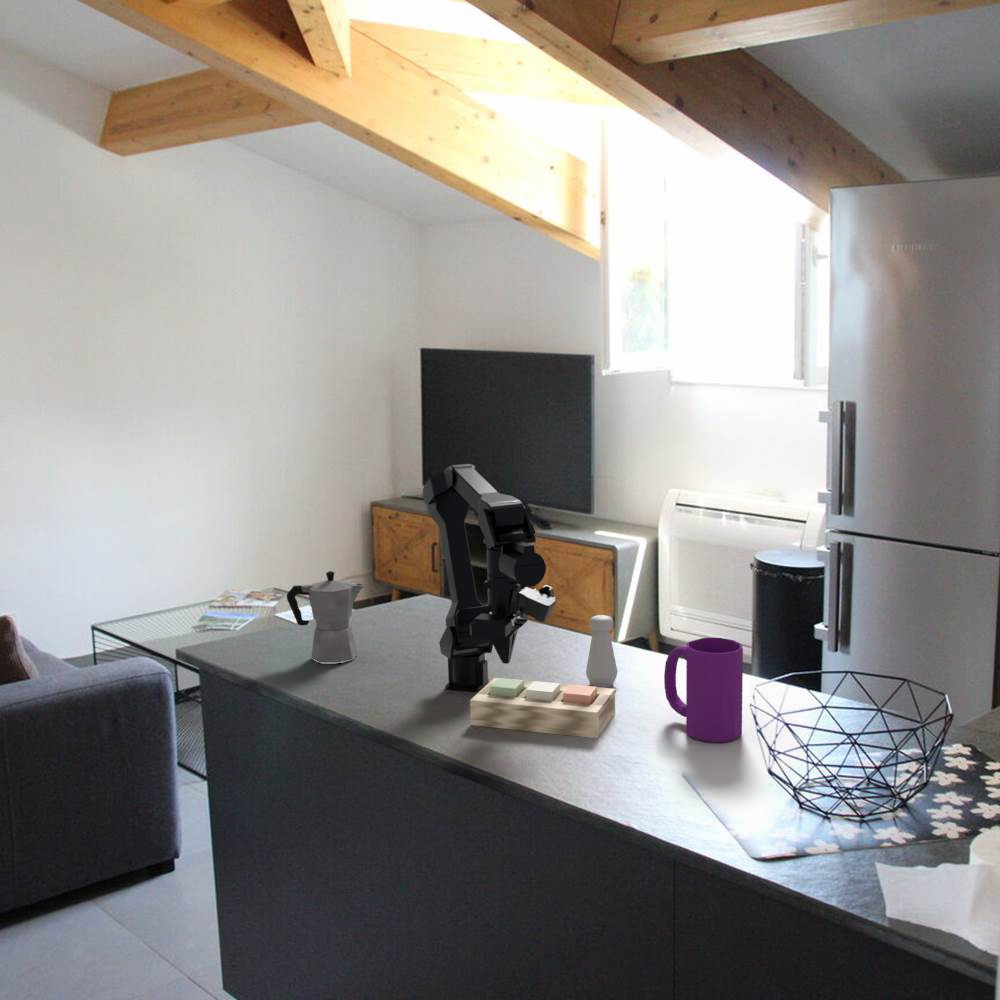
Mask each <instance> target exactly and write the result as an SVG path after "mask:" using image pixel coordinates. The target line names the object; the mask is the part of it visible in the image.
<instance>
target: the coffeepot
mask: <svg viewBox="0 0 1000 1000" xmlns="http://www.w3.org/2000/svg"><path fill="white" fill-rule="evenodd" d="M325 574H326V577H327V580H322V581H318V582H314V583H312V584H302V585H299V584H297V585H293V586H292V587H291V588H290V589H289V591H288V592H287V594H286V600H287V602H288V604H289V607H290V609H291V611H292V613H293V615H294V616H293V617H294V619H295V621H296V624H297V625H298V626H308V624H309V622H310V621H309V620H305V619H303V618H302V612H301V611H302V610H301V609H300V608H299V604H298V601H297V598H296V597H297V596H298V595H302V596H308V598H309V603H310V607H311V612H312V617H313V619H314V620H315V628H314V631H313V632H314V633H313V640H312V650H311V656H310V657H311V658H313V659H315V660H317V661H319V662H341V661H345V660H346V661H347V660H351V659H353V658H354V657H355V656H356V655H357V656H358V651H357V646H356V642H355V638H354V634H353V628H352V626H351V625H350V624H351V623H350V618H351V617H353V616H352V615H353V606H354V603H355V601H356V599H357V598H358V595H359V593H360V592H361V591H362V589H364V588H365V586H364V584H362V583H358V582H350V581H347V580H339V579H337V580H336V579H334V578H335V571H330V570H329V571H326V573H325ZM357 656H356V657H357Z"/></svg>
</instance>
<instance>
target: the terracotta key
mask: <svg viewBox="0 0 1000 1000" xmlns="http://www.w3.org/2000/svg"><path fill="white" fill-rule="evenodd" d="M569 685H570V686H569V687H568V688H567V689H566V690H565V692H564V693H563V702H568V703H579V704H589V705H592V704H593V702H594V701H595V700H596V699H597V687H594V686H592V685H580V684H569Z"/></svg>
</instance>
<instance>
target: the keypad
mask: <svg viewBox="0 0 1000 1000" xmlns="http://www.w3.org/2000/svg"><path fill="white" fill-rule="evenodd" d="M498 678H499V677H493V679H491V680H490V681H488V682H487V683H486V684H485V685H484V686H483V687H482V688H481V689H480V690H479V691H477V693H476V694H475V695H474V696H473V697H472V698H471V699H469V706H470V707H469V708H470V726H476V727H477V726H478V727H486V728H494V729H495V728H496V729H505V730H514V731H515V730H516V731H522V732H525V731H526V732H535V733H543V734H553V735H554V734H555V735H561V736H562V735H563V736H571V737H582V738H591V739H598V738H599V737H600V736H601V734H602V733H603V731H604V730H605V729H606V728H607V725H608V724H609V723H610V722H611V720H612V719H613V717H615V714H616V688H612V687H608V688H600V687H597V699H596V700H595V701H594V702H593V704H592V705H589V704H579V703H568V702H563V693H564V692H565V690H566V689H567V688H568V687H569V686H570V685H571V684H565V683H560V695H559V696H558V697H557V698H556V699H555V700H554V701H548V700H537V699H527V698H526V689H527V688H528V687H529V686H530V685H531V684H532V683H533V682H534V681H535V680H534V681H532V680H524V691H523V692H522V693H521V694H520V695H519V696H518V697H517V698H516V697H506V696H495V695H490V686H491V685H492V684H493V683H494V682H495V681H496V680H497V679H498Z"/></svg>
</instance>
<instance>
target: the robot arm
mask: <svg viewBox="0 0 1000 1000" xmlns="http://www.w3.org/2000/svg"><path fill="white" fill-rule="evenodd" d="M422 498H423V502H424V504H426V507H427V514H428V516H430V518H431V519H432V521H434V522H435V523H436V525H437V526H438V527H439V533H440V539H441V545H442V550H443V557H444V564H445V569H446V576H447V581H448V587H449V594H450V601H451V604H450V607H449V610H448V612H447V615H446V617H445V626H446V627H445V629H444V631H443V633H442V636H441V638H440V640H439V642H438V643H439V648H440V654H441V655H443V656H445V657H446V658H447V671H448V672H447V673H448V675H447V677H448V683H446V684H445V685H444V688H445V689H449V690H458V691H470V692H479V691H480V690H482V689H483V688H484V687H485V686H486V685H487V684H488V683H489V682H490V681H489V680H490V679H489V669H488V668H489V667H488V660H487V659H486V654H492V652H493V647H494V649H495V651H496V653H497V654H498V657H499V659H500V661H501V663H502V664H509V663H510V662H511V658H512V654H513V651H514V646H515V643H516V639H517V635H518V631H519V630H520V629H521V628H522V627H523V626H524V625H525V624H526V623H527V622H528V621H529V620H528V619H527V618H521V615H520V613H522V614H524V615H526V616H529V617H531V618H533V619H534V620H535V621H536V622H537V621H538V622H541V623H544V622H546V620H547V619H548V618H550V617H551V615H552V612H553V609H554V608H555V607H554V606H556V604H557V601H556V599H557V597H556V596H555V594H554V588H553V586H550V585H547V584H545V585H543V586H542V587H541V588H540V589H538V588H533V587H534V586H537V585H538V584H540V582H542V580H543V579H544V578H545V576H546V571H547V564H546V563H545V560H544V558H543V557H542V555H541V554H539V553H538V552H536V551H535V545H534V544H532V543H536V542H537V540H536V536H535V534H536V530H535V528H534V525H533V522H532V520H531V518H530V516H529V513H528V509H527V508H526V506H525V505H524V503H523V502H522V501H521V500H520V499H518V498H516V497H514V496H513V495H509V494H503V493H500V492H498V491H497V489H495V487H493V486H492V485H491V484H490V483H489V482H488V481H487V480H486V479H485V478H484V477H483V476H482V475H481V474H480V473H479V472H478V471H477V468H476V466H475V465H474V464H470V463H463V464H461V463H460V464H452V465H450V466H447V467H445V469H444V470H443V471H442V472H439V473H438V474H436V475H434V476H433V477H431V478H429V479H428V481H426V483H425V485H424V486H423V488H422ZM471 508H473V510H474V511H475V512H476V513H477V524H478V526H479V527H480V530H481V532H482V534H483V537H484V539H483V540H482V541H483V544H485V545H486V566H487V568H486V574H487V579H486V580H485V581H483V589H487V603H486V604H485V605H483V604H482V603H481V601H480V600H479V599H478V596H477V590H476V582H475V578H474V571H473V565H472V559H471V553H470V552H471V551H470V548H469V547H470V546H469V541H468V535H467V529H466V518H467V516H468V515H469V512H470V509H471Z"/></svg>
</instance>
